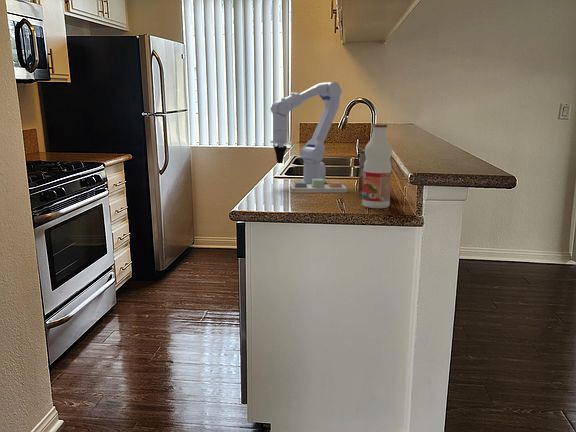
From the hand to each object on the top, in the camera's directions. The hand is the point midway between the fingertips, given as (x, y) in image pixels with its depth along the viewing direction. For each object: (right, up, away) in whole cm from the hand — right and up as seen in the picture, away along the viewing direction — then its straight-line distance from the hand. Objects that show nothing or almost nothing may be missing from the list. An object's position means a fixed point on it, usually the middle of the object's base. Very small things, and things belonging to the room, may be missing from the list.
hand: (279, 163), depth 217 cm
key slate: (+9, -11, -10) cm, 17 cm away
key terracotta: (+22, -11, -9) cm, 27 cm away
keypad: (+15, -12, -10) cm, 22 cm away
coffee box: (+36, -14, -18) cm, 42 cm away
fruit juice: (+34, -19, -39) cm, 55 cm away
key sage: (+15, -10, -10) cm, 21 cm away
